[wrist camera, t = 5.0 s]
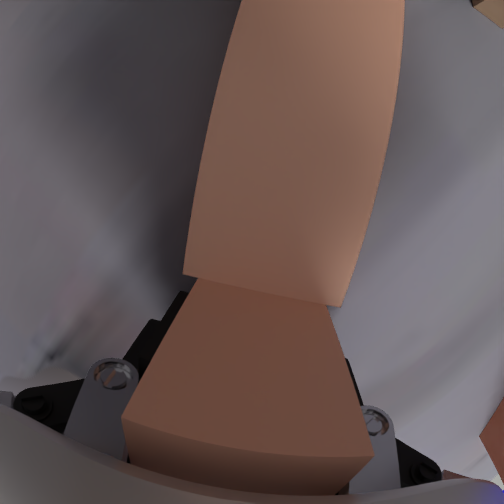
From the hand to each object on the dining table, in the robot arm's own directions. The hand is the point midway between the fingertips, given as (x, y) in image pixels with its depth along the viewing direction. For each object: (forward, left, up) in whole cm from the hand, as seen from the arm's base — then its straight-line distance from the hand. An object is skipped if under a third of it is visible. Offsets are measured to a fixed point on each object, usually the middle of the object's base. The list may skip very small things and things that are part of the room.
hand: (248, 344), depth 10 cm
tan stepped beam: (+8, 0, -1) cm, 8 cm away
